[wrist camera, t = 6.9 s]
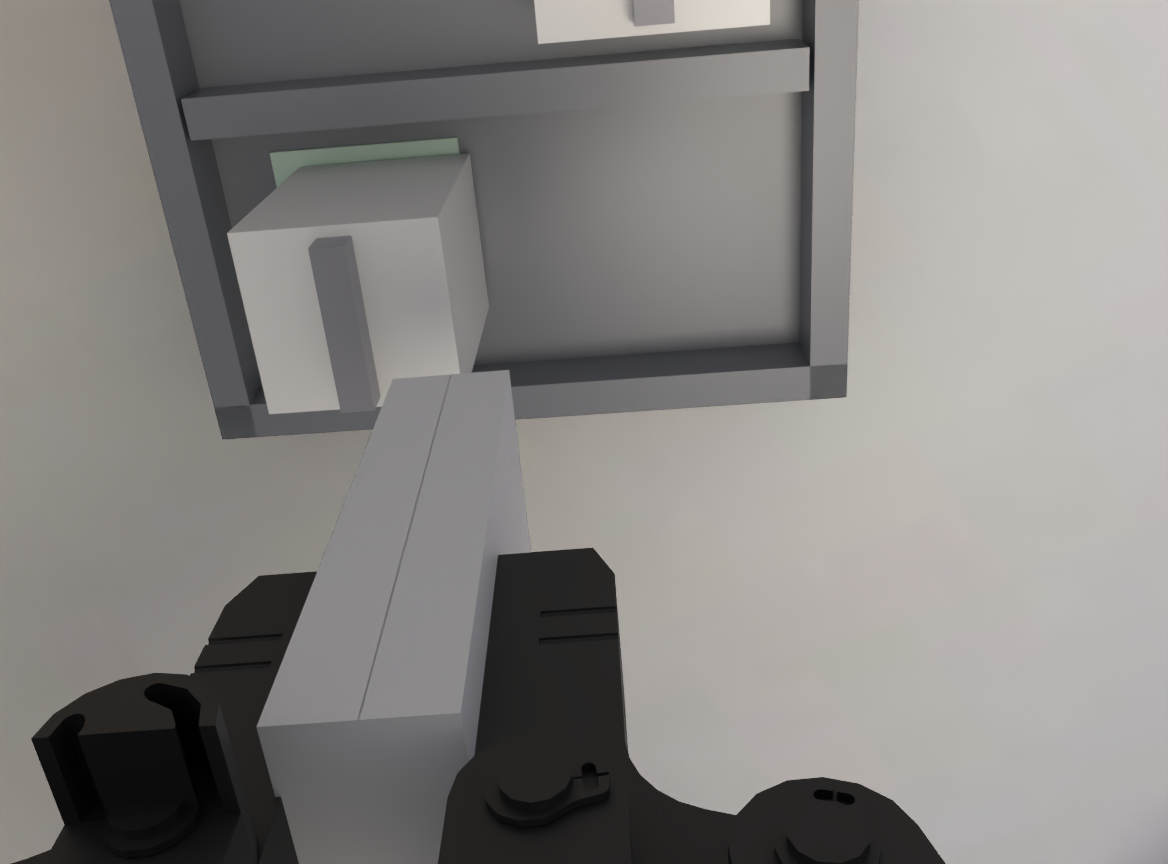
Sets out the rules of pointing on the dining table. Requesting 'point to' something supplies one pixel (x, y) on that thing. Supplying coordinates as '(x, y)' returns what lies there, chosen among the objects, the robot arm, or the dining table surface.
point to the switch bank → (532, 185)
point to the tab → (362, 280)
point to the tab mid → (641, 17)
